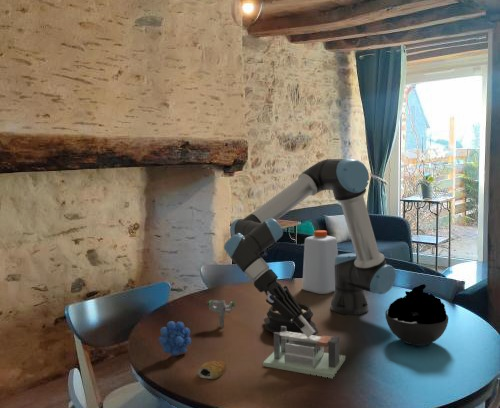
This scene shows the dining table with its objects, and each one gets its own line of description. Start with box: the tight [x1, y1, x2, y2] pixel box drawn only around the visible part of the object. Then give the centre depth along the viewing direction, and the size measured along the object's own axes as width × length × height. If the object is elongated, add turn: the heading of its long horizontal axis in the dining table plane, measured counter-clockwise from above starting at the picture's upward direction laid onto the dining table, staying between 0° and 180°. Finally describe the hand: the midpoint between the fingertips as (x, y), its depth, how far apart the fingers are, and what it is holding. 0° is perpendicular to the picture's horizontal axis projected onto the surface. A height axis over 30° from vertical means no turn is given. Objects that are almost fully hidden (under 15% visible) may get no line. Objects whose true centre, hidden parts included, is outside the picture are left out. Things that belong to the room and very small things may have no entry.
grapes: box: [158, 320, 192, 357], centre depth 158 cm, size 12×7×12 cm, turn 126°
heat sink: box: [273, 326, 341, 369], centre depth 151 cm, size 19×11×8 cm, turn 65°
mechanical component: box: [206, 299, 236, 329], centre depth 184 cm, size 3×10×10 cm, turn 78°
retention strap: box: [280, 330, 332, 348], centre depth 151 cm, size 17×6×1 cm, turn 65°
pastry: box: [196, 359, 227, 380], centre depth 146 cm, size 9×7×4 cm
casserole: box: [263, 302, 319, 336], centre depth 179 cm, size 25×19×8 cm
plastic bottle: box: [301, 229, 339, 295], centre depth 229 cm, size 15×15×28 cm
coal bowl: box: [385, 283, 449, 346], centre depth 163 cm, size 20×20×19 cm
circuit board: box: [262, 345, 346, 379], centre depth 151 cm, size 22×14×1 cm, turn 65°
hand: (311, 334), depth 149 cm, fingers closed
